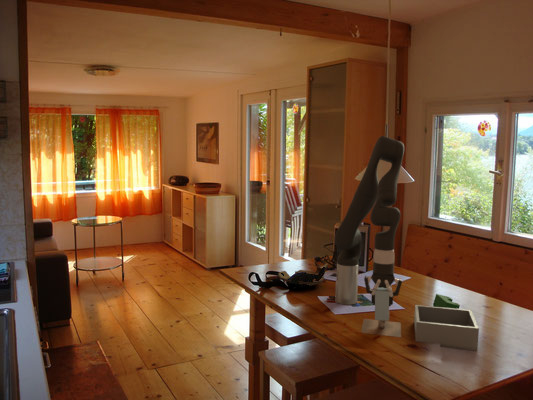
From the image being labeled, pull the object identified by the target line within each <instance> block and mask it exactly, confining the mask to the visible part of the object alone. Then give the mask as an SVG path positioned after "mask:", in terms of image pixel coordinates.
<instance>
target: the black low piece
mask: <svg viewBox="0 0 533 400" xmlns="http://www.w3.org/2000/svg"><path fill="white" fill-rule="evenodd" d="M328 266H329V264H328V263H324V264H323V265H321V266H319V265H317V266H316V270H315V271H311V270H306V269H305V270H304V269H299V270H297V271H296V270H295V271H294V275H295V274H296V273H299V272H306V273H309V274H315V275H318V274H319V272H320V271H321V269H322V268H323V267H325V270H326V269H327V268H328ZM281 273H283V274H284V276H283V275H282V274H281ZM277 276H278V279H279V280H280V281H283V282H286V283H287V282H290V281H291V280H288V279H289V278H290V277H292V276H290V275H289V273H288V272H287V271H286V270H281V271H279V272H278V274H277ZM324 280H325V277H324V275H323V276H322V278H321V279H320V280H319V281H313V282H303V281H298V282H299V284H307V285H309V286H308V287H310V286H311V287H312V286H316V285H318V284H320V283H322V282H324Z"/></svg>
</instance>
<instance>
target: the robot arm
mask: <svg viewBox="0 0 533 400" xmlns="http://www.w3.org/2000/svg"><path fill="white" fill-rule="evenodd" d="M404 153H405V145H404V143H403V142H402V141H399V140H397V139H395V138H390V137H388V136H385V135H381V136H379V138H378V139H377V140H376V141H375V144H374V147H373V149H372V151H371V155H370V158H369V160H368V162H367V165H366V168H365V171H364V173H363V175H362V177H361V179H360V181H359V184H358V185H357V188H356V191H355V192H354V195H353V198H352V200H351V202H350V204H349V207H348V209H347V212H346V214H345V216H344V218H343V220H342V222H341V223H340V225H339V227H338V229H336V230H337V231H336V233H335V235H334V244H335V246H336V247H337V248H338V249H339V250H340V253H339V254H338V256H337V258H336V280H335V294H334V295H335V299H334V301H335V303H337V304H341V305H347V306H348V305H355V304H357V303H358V286H359V284H358V283H359V282H358V281H359V262H360V261H359V260H360V258H361V254H362V252H361V251H362V233H361V232H360V230H359V227H360V225H361V224H362V222H363V220H364V219H365V218H366V217H367V216H368V215H369V213H370V222H371V223H372V225H374V226H377V227H378V226H379V227H388V230H384V231H379V232H377V233H375V235H374V251H373V257H372V260H373V261H372V274H371V275H370V276H367V275H365V276H364V277H363V280H364V285H365V290H366V293H367V294H370V295H371V301H370V302H371V303H372V305H373V306H375V290H377V288H382V287H383V288H387V290H388V291H389V307H392V306H393V304H394V297H397V296H399V293H400V291H401V286H402V284H403V281H402V279H401V278H396V277H395V241H396V240H395V239H396V233H397V229H398V227H399V224H400V221H401V218H402V217H401V215H402V214H401V211H400V209H399V208H398V207H393V205H395V204H396V202H397V192H398V181H399V177H400V172H401V168H402V164H403V158H404V155H405V154H404ZM380 160H381V161H384V162H387V163H390V164H391V166H390V168H389V170H387V172H386V173H385V174H384V175H383V176H381V178H380V180H379V178H378V177H379V176H378V166H379V164H380V163H379V162H380ZM371 281H372V282H373V283H374V286H373V288H372V289H371V286H370V282H371ZM393 283H395V285H396V287H395V291H393V289H392V286H391V285H393Z"/></svg>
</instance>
